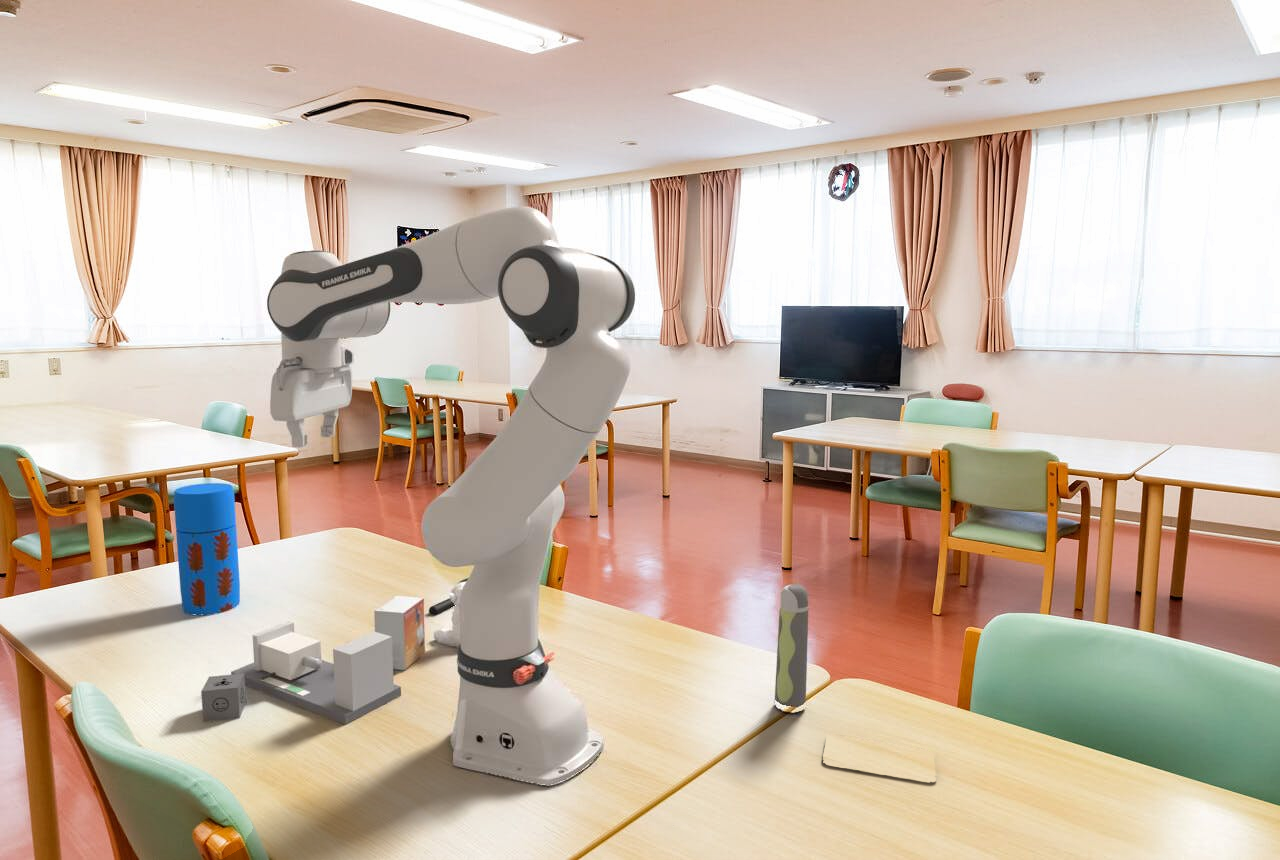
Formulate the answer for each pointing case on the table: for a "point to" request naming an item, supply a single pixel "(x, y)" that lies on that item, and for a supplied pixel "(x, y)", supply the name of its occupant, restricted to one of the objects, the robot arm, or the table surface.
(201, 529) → the thermos
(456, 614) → the white creature statuette
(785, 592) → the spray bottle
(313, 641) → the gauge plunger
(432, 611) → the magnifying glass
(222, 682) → the dice cube
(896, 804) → the table surface
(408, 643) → the small box
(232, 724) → the table surface
